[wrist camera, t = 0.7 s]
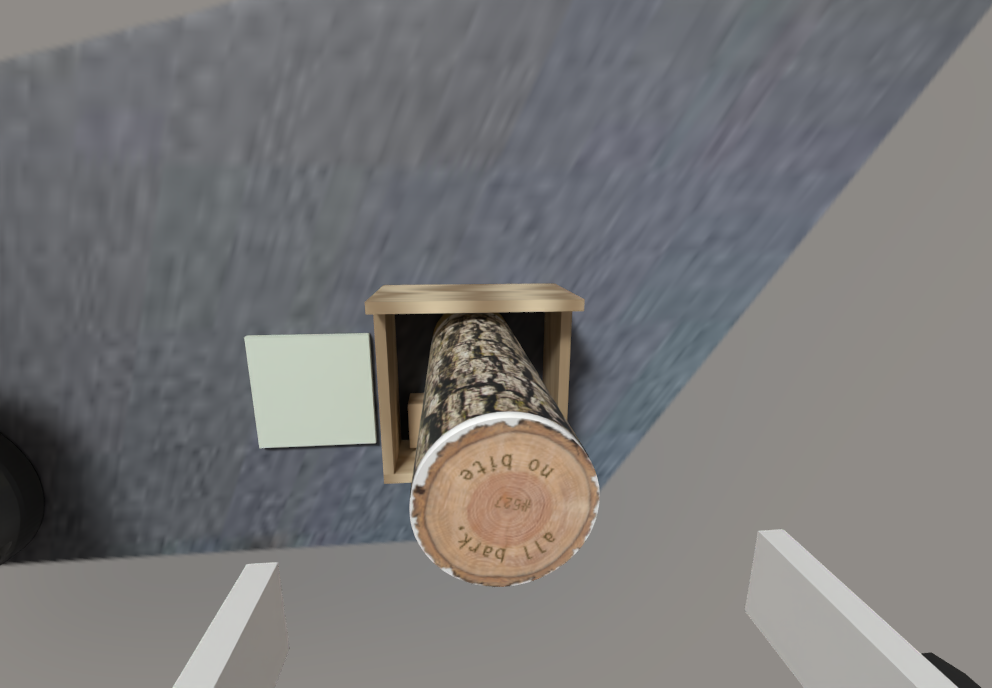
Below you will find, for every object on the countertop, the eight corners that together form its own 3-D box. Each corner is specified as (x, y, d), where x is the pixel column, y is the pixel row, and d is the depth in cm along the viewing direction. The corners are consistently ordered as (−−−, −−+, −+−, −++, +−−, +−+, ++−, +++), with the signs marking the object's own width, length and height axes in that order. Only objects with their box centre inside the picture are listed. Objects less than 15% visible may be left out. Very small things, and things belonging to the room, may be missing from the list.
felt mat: (262, 444, 41) (259, 448, 40) (247, 335, 38) (244, 337, 38) (376, 440, 42) (375, 443, 41) (369, 333, 39) (368, 334, 39)
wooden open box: (393, 448, 42) (378, 506, 33) (383, 285, 38) (364, 302, 30) (549, 441, 43) (574, 495, 35) (554, 283, 40) (584, 299, 31)
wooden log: (499, 382, 41) (570, 597, 17) (425, 367, 40) (391, 574, 16) (517, 310, 40) (624, 436, 16) (441, 292, 39) (431, 399, 15)
